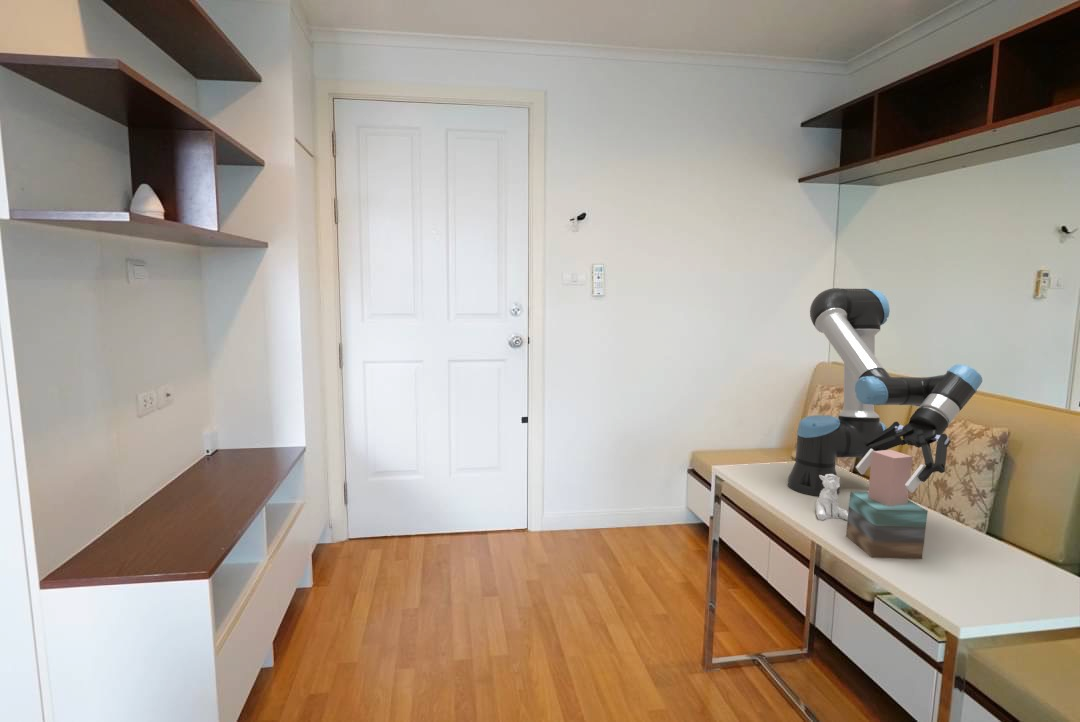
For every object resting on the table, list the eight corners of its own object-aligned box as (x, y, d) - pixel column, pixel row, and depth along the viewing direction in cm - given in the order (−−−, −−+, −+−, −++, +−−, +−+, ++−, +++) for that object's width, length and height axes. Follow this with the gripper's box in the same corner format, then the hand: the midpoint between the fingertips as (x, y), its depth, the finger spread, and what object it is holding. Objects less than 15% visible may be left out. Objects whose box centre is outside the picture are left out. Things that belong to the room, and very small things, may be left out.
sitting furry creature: (818, 520, 159) (822, 479, 157) (803, 508, 168) (807, 469, 166) (852, 521, 159) (856, 479, 158) (836, 509, 168) (839, 470, 166)
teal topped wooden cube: (846, 535, 149) (850, 491, 148) (892, 537, 149) (896, 492, 148) (871, 557, 138) (877, 509, 136) (922, 558, 137) (927, 510, 136)
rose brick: (867, 497, 144) (872, 451, 142) (885, 495, 146) (890, 449, 144) (889, 506, 138) (894, 458, 137) (907, 503, 140) (912, 456, 139)
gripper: (992, 438, 133) (939, 507, 130) (894, 415, 156) (847, 473, 153) (979, 417, 131) (925, 487, 128) (882, 397, 154) (834, 455, 151)
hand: (882, 479), depth 140 cm, fingers open, 13 cm apart
